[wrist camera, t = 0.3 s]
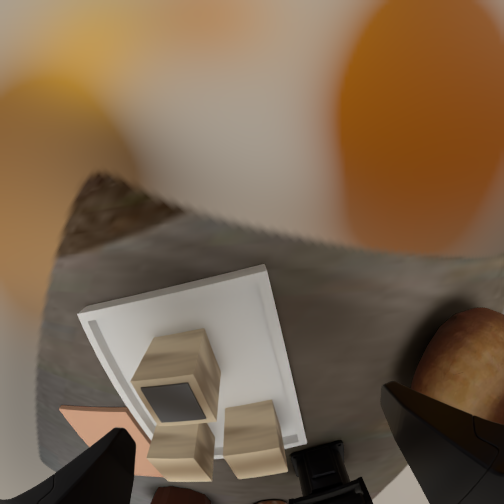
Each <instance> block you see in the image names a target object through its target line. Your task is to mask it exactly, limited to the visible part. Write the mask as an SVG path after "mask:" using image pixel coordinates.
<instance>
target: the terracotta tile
mask: <svg viewBox="0 0 504 504" xmlns="http://www.w3.org/2000/svg"><path fill="white" fill-rule="evenodd" d="M59 410H60V411H61V413H62V414H63V415H64V417H65V418H66V419H67V421H68V422H69V423H70V424H71V426H72V427H73V428H74V429H75V431H76V432H77V433H78V434H79V436H80V437H81V438H82V439H83V440H84V441H85V443H86V444H87V445H88V446H89V447H91V446H92V445H93V444H94V443H96V442H97V441H98V440H99V439H101V438H102V437H103V436H104V435H106V434H107V433H108V432H109V431H111V430H112V429H113V428H115V427H120V428H125V429H126V430H127V431H128V432H129V434H130V435H131V436H132V438H133V439H134V441H135V443H136V457H135V471H134V475H140V476H153V477H163V475H162V474H161V473H160V472H159V471H158V470H157V469H156V468H155V467H154V466H153V465H152V464H151V463H150V462H149V460H148V459H147V454H148V451H149V447H150V444H151V440H150V438H149V437H148V436H147V434H146V433H145V432H144V430H143V429H142V428H141V426H140V425H139V423H138V422H137V421H136V419H135V418H134V416H133V415H132V413H131V412H130V410H129V409H128V407H81V406H66V405H61V406H60V408H59Z"/></svg>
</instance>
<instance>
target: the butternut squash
mask: <svg viewBox="0 0 504 504" xmlns="http://www.w3.org/2000/svg"><path fill="white" fill-rule="evenodd" d="M411 389H413V390H415V391H417V392H420V393H422V394H424V395H426V396H429V397H431V398H433V399H436V400H438V401H440V402H443V403H445V404H448V405H450V406H452V407H455V408H457V409H460V410H462V411H465V412H467V413H470V414H472V415H475V416H478V417H481V418H483V419H486V420H489V421H492V422H496V423H500V424H504V315H503V314H501V313H499V312H496V311H493V310H490V309H488V308H473V309H470V310H467V311H464V312H460V313H457V314H455V315H453V316H452V317H451V318H450V319H449V320H447V321H446V322H445V323H444V324H443V325H441V326H440V327H439V329H438V330H437V332H436V334H435V335H434V337H433V338H432V340H431V341H430V343H429V344H428V346H427V348H426V350H425V352H424V354H423V356H422V358H421V360H420V362H419V364H418V366H417V369H416V371H415V374H414V377H413V380H412V384H411Z"/></svg>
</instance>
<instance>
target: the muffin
mask: <svg viewBox="0 0 504 504" xmlns="http://www.w3.org/2000/svg"><path fill="white" fill-rule="evenodd" d="M151 504H211V501H210V500H209V499H208V498H207V497H206V496H205V494H202V493H199V492H196V491H193V490H191V489H186V488H179V487H174V486H168V487H158V489H157V491H156V493H155V495H154V497H153V499H152V502H151Z"/></svg>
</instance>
